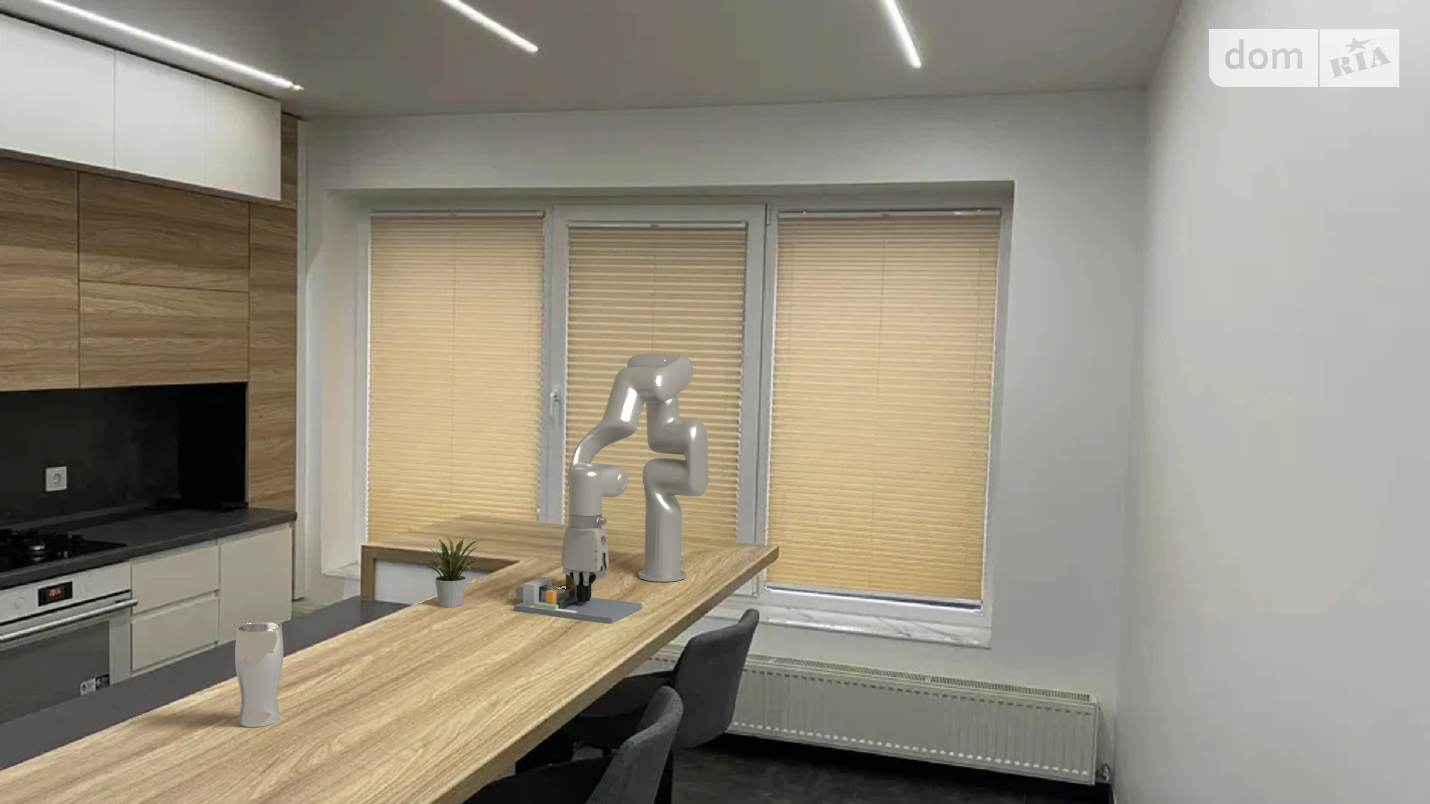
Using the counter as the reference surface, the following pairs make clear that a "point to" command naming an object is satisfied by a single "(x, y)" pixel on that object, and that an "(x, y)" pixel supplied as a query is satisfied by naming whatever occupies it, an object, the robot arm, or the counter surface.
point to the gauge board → (584, 611)
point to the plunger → (562, 596)
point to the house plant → (451, 574)
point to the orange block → (551, 597)
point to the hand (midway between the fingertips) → (583, 601)
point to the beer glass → (259, 672)
